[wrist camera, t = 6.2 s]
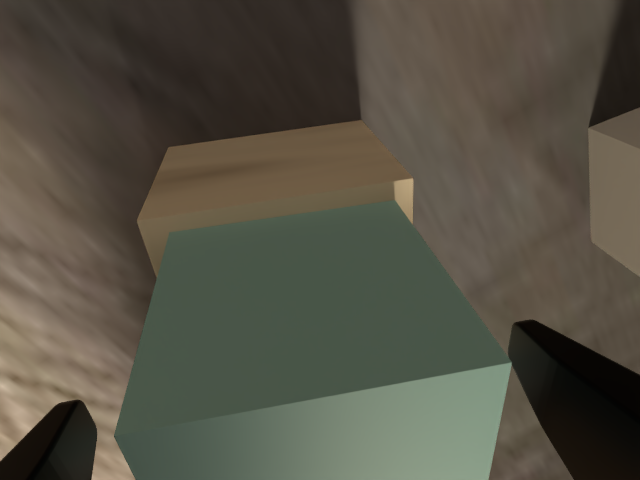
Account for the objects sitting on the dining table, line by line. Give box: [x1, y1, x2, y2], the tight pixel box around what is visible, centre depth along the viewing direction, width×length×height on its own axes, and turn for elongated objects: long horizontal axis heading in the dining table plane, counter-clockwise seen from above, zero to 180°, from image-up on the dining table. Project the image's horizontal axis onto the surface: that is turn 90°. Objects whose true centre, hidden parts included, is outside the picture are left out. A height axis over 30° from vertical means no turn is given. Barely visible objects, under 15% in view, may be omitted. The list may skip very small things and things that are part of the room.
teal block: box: [114, 200, 512, 480], centre depth 9 cm, size 5×5×5 cm
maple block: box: [137, 120, 413, 278], centre depth 13 cm, size 6×6×5 cm
